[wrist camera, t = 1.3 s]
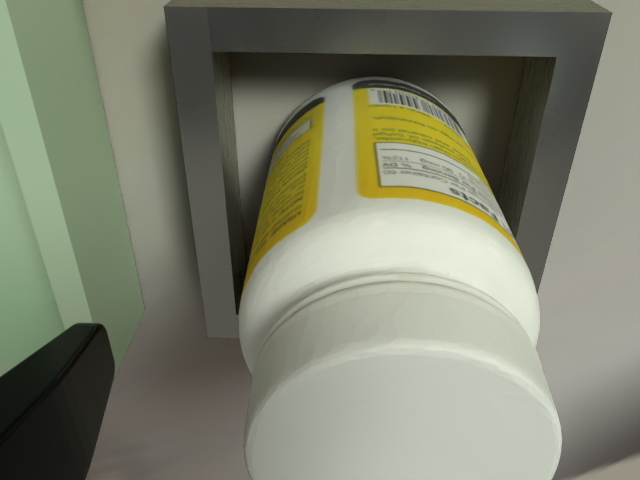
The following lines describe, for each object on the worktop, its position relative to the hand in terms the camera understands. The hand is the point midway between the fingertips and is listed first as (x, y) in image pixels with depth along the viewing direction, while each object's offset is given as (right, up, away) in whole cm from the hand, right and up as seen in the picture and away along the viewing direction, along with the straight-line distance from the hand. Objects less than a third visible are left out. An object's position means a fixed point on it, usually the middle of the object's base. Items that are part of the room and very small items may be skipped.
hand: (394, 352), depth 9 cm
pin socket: (0, +4, +5) cm, 6 cm away
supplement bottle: (0, +4, +6) cm, 7 cm away
